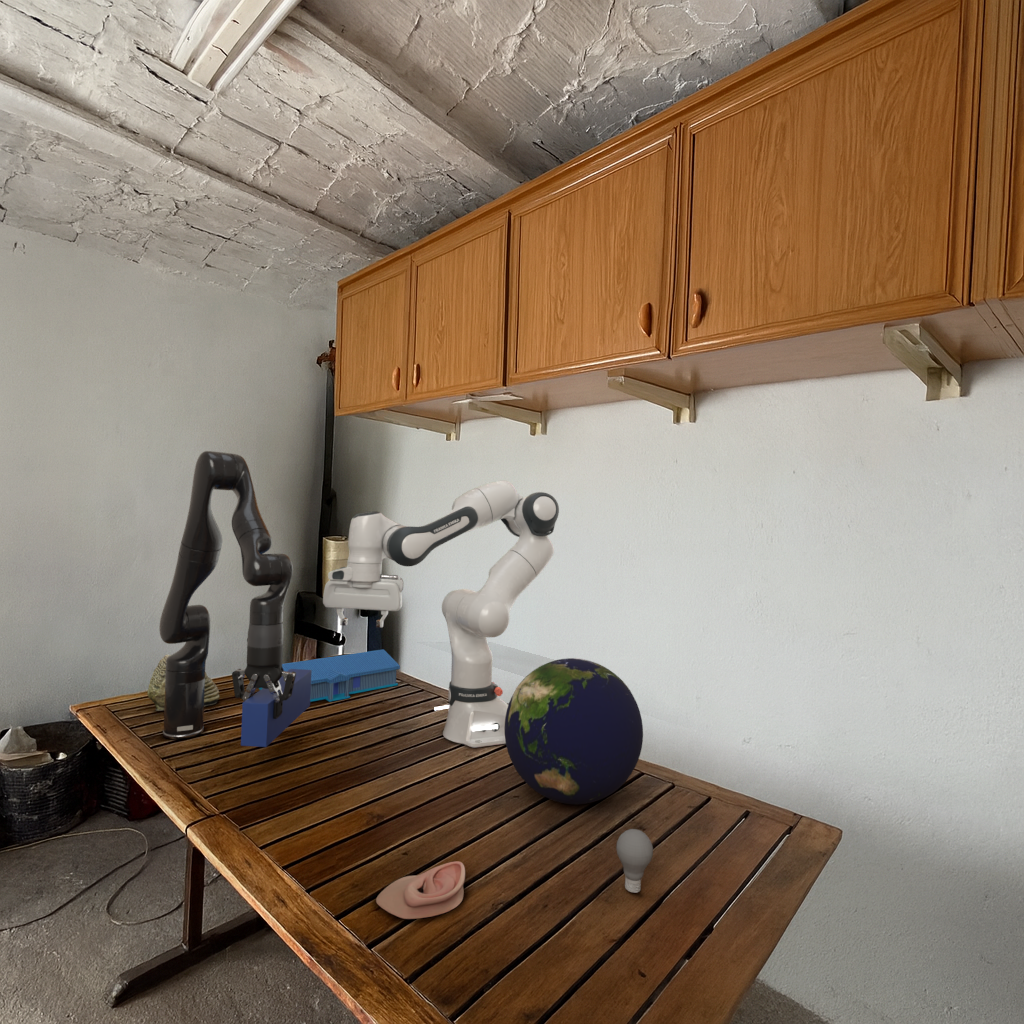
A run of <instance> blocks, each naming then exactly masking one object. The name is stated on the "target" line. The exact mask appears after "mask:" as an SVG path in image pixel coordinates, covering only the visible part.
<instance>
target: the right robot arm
mask: <svg viewBox="0 0 1024 1024" xmlns="http://www.w3.org/2000/svg"><path fill="white" fill-rule="evenodd" d="M559 513H560V507H559V503H558V500H557V499H556V498H555V497H554V496H553V495H551V494H550V493H547V492H544V491H543V492H542V491H537V492H532V493H531V494H529V495H527V496H525V497H523V496H522V495H520V493H518V491H517V489H516V487H515V486H514V485H513V483H511V482H510V481H508V480H497V481H492V482H489V483H485V484H482V485H479V486H477V487H474V488H472V489H470V490H467V491H466V492H463V493H462V494H461V495H459V496H458V497H456V498H455V499H454V501H453V503H452V506H451V511H450V512H448V514H445V515H444V516H442V517H439V518H438V519H435V520H433V521H431V522H429V523H427V524H424V525H422V526H421V525H420V526H407V525H403V524H401V523H399V522H396V521H394V520H392V519H390V518H388V517H386V516H385V515H384V514H383V513H382V512H381V511H378V510H376V511H375V510H373V511H364V512H359V513H356V514H355V515H354V516H353V517H352V518H351V520H350V524H349V530H348V539H347V540H348V541H347V542H348V543H347V547H348V550H349V552H348V553H349V554H348V557H347V562H346V563H347V564H346V566H342V567H339V568H336V569H333V570H331V571H329V572H328V574H327V578H328V581H326V583H325V586H324V588H323V589H324V590H323V596H322V604H323V606H324V607H325V608H328V609H329V608H331V609H336V614H337V616H338V618H339V619H340V621H339V624H340V626H348V620H349V618H348V617H346V616H345V615H344V613H343V612H345V609H346V610H347V609H349V610H366V611H367V610H368V611H380V615H382V616H381V618H380V619H377V620H376V625H375V627H376V628H381V629H383V627H384V622H385V620H386V618H387V616H388V615H389V612H397V611H400V610H401V609H402V607H403V593H402V592H403V590H404V585H405V584H404V579H403V578H402V577H400V576H399V575H398V574H386V573H385V574H383V573H382V571H383V560H384V559H388V560H390V561H392V562H393V561H394V562H395V563H396V564H397V565H400V566H402V567H414V566H417V565H419V564H420V563H422V562H423V561H424V560H425V559H426V558H427V557H428V556H429V554H431V552H432V551H433V550H435V549H436V548H438V547H439V546H442V545H443V544H446V543H447V542H449V541H452V540H453V539H455V538H457V537H459V536H461V535H463V534H466V533H468V532H472V531H476V530H479V529H481V528H484V527H487V526H488V525H491V524H493V523H495V522H497V521H501V522H502V523H503V525H504V526H505V527H506V529H507V530H508V532H509V533H510V534H511V535H513V536H515V537H517V541H516V542H515V544H513V546H512V547H511V548H510V549H508V550H507V551H506V552H505V553H504V554H503V555H502V556H501V557H500V558H499V559H498V560H497V561H496V562H495V563H494V564H493V565H492V566H491V567H490V568H489V570H488V577H487V579H486V581H485V582H484V585H483V586H482V587H481V588H480V589H478V590H477V591H475V590H472V589H470V588H458V589H453V590H451V591H450V592H448V593H447V594H446V595H445V596H444V598H443V600H442V602H441V613H442V615H443V617H444V619H445V623H446V626H447V632H448V637H449V642H450V648H451V649H450V652H451V668H450V669H451V671H450V673H451V674H450V675H451V676H450V681H449V684H448V694H447V695H448V697H447V700H448V704H447V705H442V706H434V709H433V710H434V711H440V710H446V709H448V710H447V715H446V721H445V724H444V728H443V731H442V736H443V737H444V738H445V739H446V740H448V741H450V742H453V743H456V744H462V745H465V746H467V747H470V748H482V747H489V746H496V745H497V746H498V745H506V742H505V731H504V727H505V717H506V712H507V708H508V705H509V702H505V701H504V700H503V699H502V698H501V696H502V695H503V694H504V690H503V689H502V687H500V686H499V685H498V684H497V683H495V682H494V681H492V680H493V678H492V677H493V652H492V650H491V649H490V646H489V642H488V639H487V638H497V637H499V636H501V635H502V634H503V633H505V632H506V630H507V629H508V627H509V625H510V619H511V618H510V617H511V615H510V613H511V610H512V608H513V606H514V604H515V603H516V601H517V600H518V598H519V597H520V596H521V594H522V593H524V591H525V590H526V589H527V588H528V587H529V586H531V584H532V583H533V582H534V581H535V580H536V579H537V577H538V576H539V575H540V574H541V573H542V572H543V571H544V570H545V568H546V567H547V566H548V564H549V563H550V561H551V560H552V558H553V556H554V554H555V547H554V544H553V543H552V541H551V539H550V538H549V536H550V535H552V534H553V532H554V529H555V527H556V523H557V521H558V518H559Z"/></svg>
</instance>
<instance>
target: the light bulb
mask: <svg viewBox="0 0 1024 1024" xmlns="http://www.w3.org/2000/svg"><path fill="white" fill-rule="evenodd" d="M615 849H616V854H617V857H618V859H619V861H620V863H621V865H622V867H623V873H624V874H623V875H624V876H625V878H624V888H625V890H627V891H628V892H630V893H634V894H635V893H639V892H640V891H641V889H642V887H641V886H642V879H643V877H644V875H645V871H646V868H647V867H648V866H649V864H650V863H651V861H652V859H653V855H654V847H653V843H652V841H651V838H649V836H648V835H647V834H646V833H645V832H643V831H642V830H641V829H636V828H629V829H627V830H625V831H623V832H622V833H621V834H620V835H619V837H618V839H617V841H616V847H615Z"/></svg>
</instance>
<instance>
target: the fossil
mask: <svg viewBox="0 0 1024 1024" xmlns="http://www.w3.org/2000/svg"><path fill="white" fill-rule="evenodd" d="M170 655H171V654H165V655H164V656H163V657H162V658H161V659H160V660H159V662H158V663H157V666H156V667H155V669H154V670H153V672H152V675H151V677H150V680H149V684H148V688H147V697H148V699H149V700H150V701H152V703H153V704H154V706H155V711H158V712H159V711H162V712H163V711H164V705H165V674H166V660H167V658H168V657H169V656H170ZM220 698H221V696H220V690H219V688H218V686H217V685H216V683H215V682H214V681H213V679H212V678H211V677H209V675H208V674H207V672H206V671H205V693H204V707H207V706H213V705H215V704H217V703H218V701H219V699H220Z"/></svg>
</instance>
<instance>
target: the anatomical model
mask: <svg viewBox="0 0 1024 1024" xmlns="http://www.w3.org/2000/svg"><path fill="white" fill-rule="evenodd" d="M465 881H466V868H465V864H464V863H463V862H461V861H460V860H459V861H456V860H455V861H449V862H446V863H442V864H440V865H437V866H434V867H433V868H430V869H428V870H426V871H424V872H421V873H420V874H418V875H407V876H404V877H400V878H398V879H396V880H394V881H393V882H391V883H390V884H389V885H388V886H386V887H384V889H383V890H381V892H380V893H379V894H378V895H377V897H376V899H375V902H376V904H377V905H378V906H379V907H380V908H381V909H383V910H384V911H386V912H387V913H389V914H391V915H393V916H395V917H398V918H400V919H404V920H415V919H423V918H424V919H425V918H430V917H431V918H432V917H435V916H439V915H443V914H445V913H448V912H451V911H452V910H454V909H455V908H457V907H458V906H460V904H461V903H462V901H463V899H464V896H465V894H464V893H465V892H464V884H465Z"/></svg>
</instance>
